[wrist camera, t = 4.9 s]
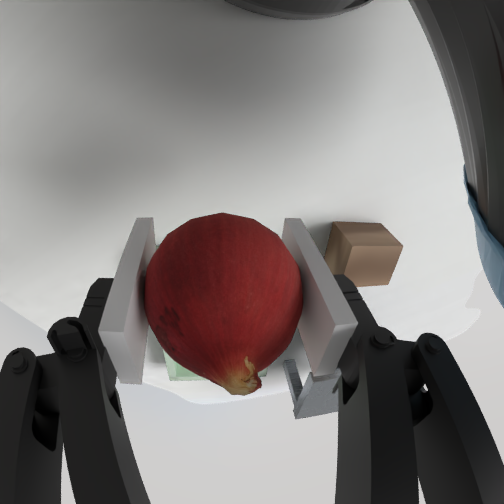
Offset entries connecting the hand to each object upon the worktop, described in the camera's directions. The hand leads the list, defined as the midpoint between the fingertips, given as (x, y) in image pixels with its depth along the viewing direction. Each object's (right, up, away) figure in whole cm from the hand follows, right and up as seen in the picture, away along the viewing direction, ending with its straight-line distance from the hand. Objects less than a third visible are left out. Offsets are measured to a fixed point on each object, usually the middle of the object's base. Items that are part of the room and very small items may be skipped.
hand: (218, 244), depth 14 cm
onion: (0, 0, 0) cm, 1 cm away
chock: (+11, +1, +12) cm, 16 cm away
